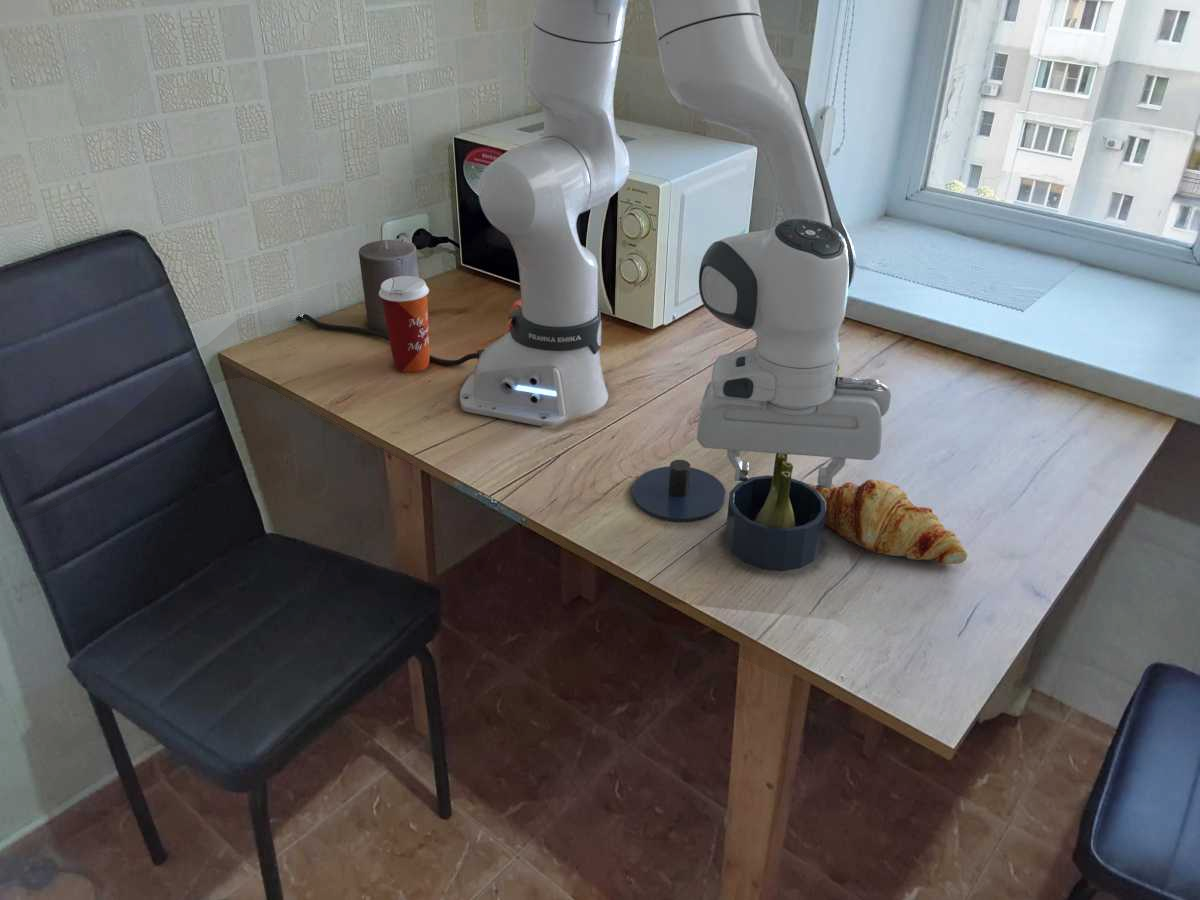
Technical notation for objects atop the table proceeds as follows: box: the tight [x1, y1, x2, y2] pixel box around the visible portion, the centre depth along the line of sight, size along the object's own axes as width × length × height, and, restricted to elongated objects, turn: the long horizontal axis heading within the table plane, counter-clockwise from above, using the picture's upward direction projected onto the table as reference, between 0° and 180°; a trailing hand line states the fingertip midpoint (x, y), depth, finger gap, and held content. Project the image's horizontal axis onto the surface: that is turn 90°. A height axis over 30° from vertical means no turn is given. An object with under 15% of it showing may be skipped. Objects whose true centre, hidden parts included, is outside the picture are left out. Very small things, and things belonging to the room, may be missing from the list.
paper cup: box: [379, 276, 430, 374], centre depth 152 cm, size 8×8×14 cm
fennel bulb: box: [754, 453, 796, 528], centre depth 113 cm, size 6×5×12 cm
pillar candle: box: [358, 239, 420, 335], centre depth 166 cm, size 10×10×15 cm
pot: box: [724, 474, 826, 572], centre depth 114 cm, size 11×11×6 cm
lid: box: [631, 459, 727, 523], centre depth 123 cm, size 12×12×5 cm
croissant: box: [806, 479, 968, 565], centre depth 116 cm, size 21×10×8 cm, turn 53°
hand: (782, 481), depth 111 cm, fingers open, 8 cm apart
